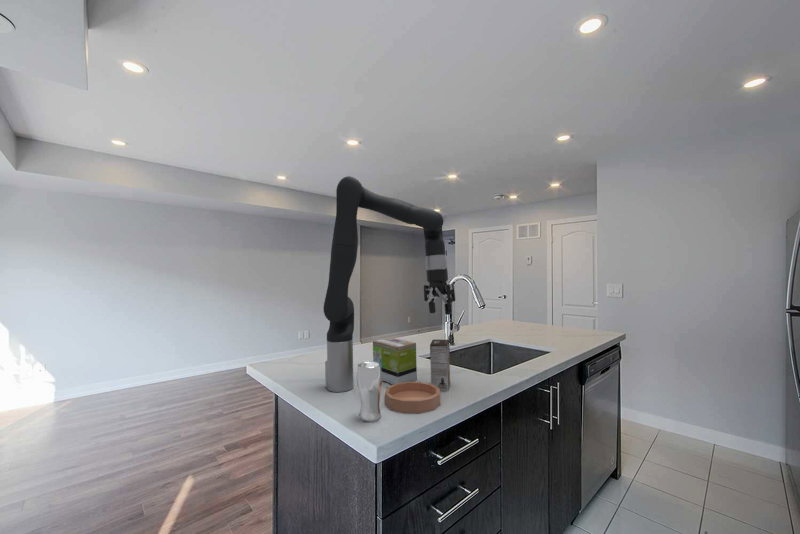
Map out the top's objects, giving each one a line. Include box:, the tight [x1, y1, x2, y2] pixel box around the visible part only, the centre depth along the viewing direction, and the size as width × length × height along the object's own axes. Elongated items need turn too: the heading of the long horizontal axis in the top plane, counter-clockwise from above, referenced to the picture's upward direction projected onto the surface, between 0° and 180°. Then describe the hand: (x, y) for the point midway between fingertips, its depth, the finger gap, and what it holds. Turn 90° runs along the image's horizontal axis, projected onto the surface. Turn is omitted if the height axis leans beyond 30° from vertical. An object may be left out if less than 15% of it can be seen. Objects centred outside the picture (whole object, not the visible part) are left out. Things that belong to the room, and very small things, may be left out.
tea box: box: [372, 336, 418, 385], centre depth 128 cm, size 15×10×15 cm, turn 42°
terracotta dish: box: [384, 381, 441, 414], centre depth 105 cm, size 17×17×4 cm
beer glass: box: [356, 360, 383, 423], centre depth 95 cm, size 7×7×15 cm
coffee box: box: [429, 339, 451, 392], centre depth 119 cm, size 9×6×16 cm
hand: (440, 313), depth 118 cm, fingers open, 8 cm apart
